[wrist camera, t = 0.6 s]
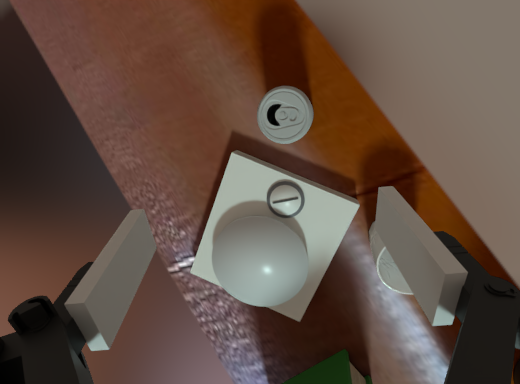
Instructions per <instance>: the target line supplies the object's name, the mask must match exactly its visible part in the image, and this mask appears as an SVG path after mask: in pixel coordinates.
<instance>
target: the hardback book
mask: <svg viewBox="0 0 520 384" xmlns="http://www.w3.org/2000/svg"><path fill="white" fill-rule="evenodd" d="M282 384H372V379H371V378H370V376H369V375H367V376H365V377H363V376H362V375H361V374H360V373H359V372H358V371H357V370H356V368H355V367H354V366H353V365H352V364H351V363H350V362H349V355H348V352H347V351H346V349H343V350H342V351H340V352H338V353H336V354H334V355H332V356H331V357H329V358H327V359H325V360H323V361H322V362H320V363H318V364H316V365H314V366H313V367H311V368H309V369H307V370H305V371H304V372H302V373H300V374H298V375H296V376H294V377H293V378H291V379H289V380H287V381H285V382H284V383H282Z"/></svg>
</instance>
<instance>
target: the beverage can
mask: <svg viewBox="0 0 520 384" xmlns="http://www.w3.org/2000/svg"><path fill="white" fill-rule="evenodd" d="M313 114H314V113H313V107H312V104H311V102H310V100H309V99H308V97H307V96H306V95H305V94H304V93H303V92H302V91H301V90H299V89H297V88H295V87H291V86H280V87H276V88H274V89H272V90H270V91H269V92H267V93H266V94H265V95H264V97H263V98H262V100H261V101H260V103H259V106H258V110H257V121H258V125H259V127H260V129H261V131H262V132H263V134H264V135H265V136H266V137H267V138H269V139H270V140H272V141H274V142H277V143H282V144H287V143H292V142H295V141H297V140H299V139H300V138H302V137H303V136H304V135H305V134H306V133H307V131H308V130H309V128H310V126H311V123H312V121H313Z"/></svg>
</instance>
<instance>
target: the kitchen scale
mask: <svg viewBox="0 0 520 384" xmlns="http://www.w3.org/2000/svg"><path fill="white" fill-rule="evenodd" d="M359 206H360V205H359V202H358V200H357V199H355V198H352V197H350V196H348V195H345V194H343V193H340V192H338V191H335V190H333V189H331V188H328V187H326V186H323V185H321V184H318V183H316V182H314V181H311V180H309V179H306V178H304V177H301V176H299V175H297V174H294V173H292V172H289V171H287V170H284V169H282V168H280V167H277V166H275V165H272V164H270V163H267V162H265V161H263V160H260V159H258V158H255V157H253V156H250V155H248V154H246V153H243V152H241V151H238V150H236V151H234V152H232V153H231V156H230V159H229V162H228V165H227V168H226V170H225V173H224V176H223V179H222V182H221V185H220V188H219V191H218V194H217V196H216V199H215V202H214V205H213V208H212V211H211V214H210V217H209V220H208V222H207V225H206V228H205V231H204V234H203V237H202V240H201V243H200V246H199V249H198V251H197V254H196V257H195V260H194V263H193V266H192V269H191V272H190V273H192V274H194V275H196V276H199V277H201V278H203V279H205V280H208V281H210V282H212V283H214V284H216V285H219V286H221V287H223V288H224V289H225V290H226V291H227V292H228V293H229V294H230V295H232V296H233V297H235V298H236V299H238V300H240V301H242V302H244V303H247V304H250V305H254V306H260V307H268V308H270V309H272V310H274V311H276V312H279V313H281V314H283V315H285V316H288V317H290V318H292V319H294V320H296V321H299V322H300V321H301V319H302V317H303V315H304V313H305V311H306V309H307V307H308V305H309V303H310V301H311V299H312V297H313V295H314V293H315V291H316V289H317V287H318V286H319V284H320V282H321V280H322V278H323V276H324V274H325V272H326V270H327V268H328V266H329V264H330V262H331V260H332V258H333V256H334V254H335V252H336V250H337V249H338V247H339V245H340V243H341V241H342V239H343V237H344V235H345V233H346V231H347V229H348V227H349V225H350V223H351V221H352V219H353V217H354V215H355V214H356V212H357V210H358V208H359Z"/></svg>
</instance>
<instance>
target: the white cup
mask: <svg viewBox="0 0 520 384" xmlns="http://www.w3.org/2000/svg"><path fill="white" fill-rule="evenodd" d="M369 242H370V247H371V251H372V255H373V259H374V262H375V266H376V269H377V273H378V276H379V278H380V279H381V281H382V282H383V283H384V284H385V285H386V286H387V287H388V288H390V289H392V290H394V291H396V292H399V293H403V294H413V293H412V291H411V289H410V287H409V286H408V284H407V282H406V281H405V279H404V277H403V276H402V274H401V272H400V271H399V269H398V267H397V265H396V264H395V262H394V260H393V259H392V257H391V255H390V254H389V252H388V250H387V248H386V247H385V245H384V243H383V242H382V240H381V238H380V237H379V235H378V233H377V232H376V230H375V221H374V222H373V223H372V225H371V228H370V230H369Z"/></svg>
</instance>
